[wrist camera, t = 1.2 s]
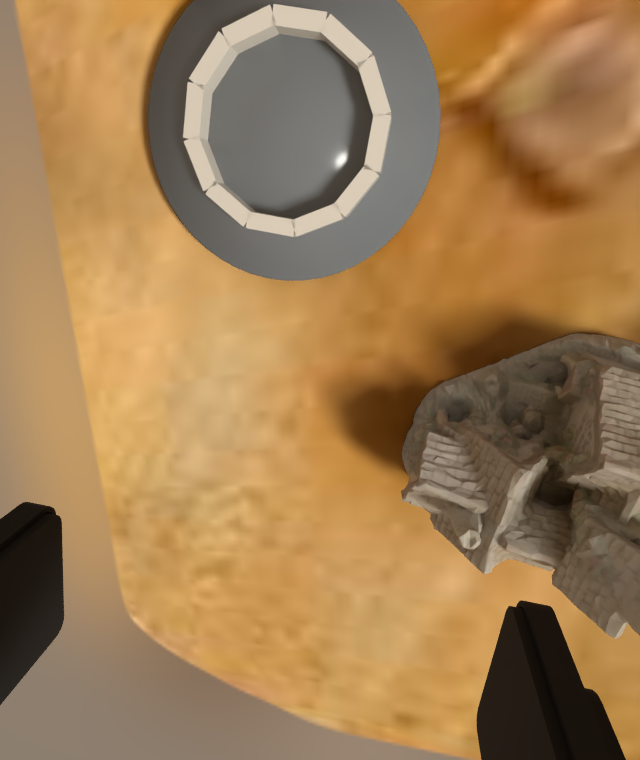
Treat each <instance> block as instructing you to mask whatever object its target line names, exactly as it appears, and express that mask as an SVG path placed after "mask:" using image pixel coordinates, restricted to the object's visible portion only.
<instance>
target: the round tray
mask: <svg viewBox="0 0 640 760" xmlns="http://www.w3.org/2000/svg"><path fill="white" fill-rule="evenodd" d="M148 129H149V139H150V148H151V152H152V157H153V161H154V166H155V169H156V172H157V175H158V178H159V181H160V184H161V187H162V189H163V191H164V193H165V195H166V197H167V199H168V201H169V203H170V205H171V207H172V208H173V210H174V211H175V213H176V215H177V216H178V218H179V219H180V221H181V222H182V223H183V224H184V226H185V227H186V228H187V229H188V231H189V232H190V233H191V234H192V235H193V236H194V237H195V238H196V239H197V240H198V241H199V242H200V243H201V244H202V245H203V246H204V247H205V248H207V249H208V250H209V251H211V252H212V253H213V254H215V255H216V256H217V257H219V258H220V259H222V260H223V261H225V262H227V263H229V264H230V265H232V266H234V267H236V268H238V269H241V270H243V271H246V272H248V273H251V274H254V275H258V276H262V277H265V278H270V279H278V280H309V279H316V278H322V277H326V276H329V275H333V274H336V273H339V272H341V271H344V270H346V269H348V268H351V267H353V266H355V265H357V264H359V263H360V262H362V261H363V260H365V259H367V258H368V257H370V256H372V255H373V254H374V253H375V252H377V251H378V250H379V249H380V248H382V247H383V246H384V245H385V244H387V243H388V241H389V240H390V239H391V238H392V237H393V236H394V235H395V234H396V233H397V232H398V231H399V230H400V229H401V228H402V226H403V225H404V224H405V222H406V221H407V220H408V218H409V217H410V216H411V214H412V213H413V211H414V209H415V207H416V206H417V204H418V202H419V201H420V199H421V197H422V195H423V193H424V190H425V188H426V186H427V183H428V181H429V179H430V176H431V172H432V169H433V165H434V162H435V158H436V154H437V148H438V142H439V135H440V101H439V90H438V85H437V80H436V75H435V71H434V67H433V64H432V61H431V58H430V55H429V53H428V50H427V47H426V45H425V43H424V41H423V39H422V37H421V35H420V33H419V31H418V29H417V27H416V26H415V24H414V23H413V21H412V20H411V18H410V17H409V15H408V14H407V13H406V11H405V10H404V8H403V7H402V6H401V5H400V4H399V3H398V2H397V1H396V0H193V2H192V3H191V4H190V5H189V6H188V7H187V8H186V9H185V11H184V12H183V13H182V15H181V16H180V18H179V19H178V21H177V22H176V24H175V25H174V26H173V28H172V30H171V32H170V34H169V36H168V38H167V40H166V42H165V44H164V46H163V48H162V51H161V53H160V56H159V59H158V62H157V64H156V67H155V72H154V76H153V80H152V84H151V90H150V98H149V107H148Z"/></svg>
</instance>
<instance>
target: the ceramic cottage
mask: <svg viewBox="0 0 640 760" xmlns="http://www.w3.org/2000/svg"><path fill="white" fill-rule="evenodd" d="M414 416H415V417H414V418H413V425H412V427H411V428H410V430H409V431H408V434H407V435H406V436H405V437H406V440H405V442H404V444H403V450H402V460H403V463H404V467H405V470H406V472H407V474H408V476H409V477H410V478H409V482H408V485H407V486H406V488H405V489H404V490H402V491H401V493H402V501H405V502H409V503H410V504H411V505H415V506H419V507H422V508H424V509H425V510H427V511H428V512H429V513H430V514H431V517H430V520H431V521H432V523H433V525H434V529H436V530H438V531H439V532H440V533H441V534H442V535H444V536H445V537H446V538H447V539H448V540H449V541H450V542H451V543H452V544H453V545H454V546H455V547H456V548H457V549H458V550H459V551H460V552H462V553H463V554H464V556H465V557H466V558H467V559H468V560H469V561H470V562H471V563H472V564H473V565H474V566H476V567H477V568H478V569H479V570H480V571H481V572H482V573H484V574H486V573H490V572H491V571H492V568H493V567H495V566H497V565H498V564H499V563H500V562H503V561H505V560H506V559H514V560H517V561H521V562H524V563H526V564H529V565H532V566H535V567H540V568H542V569H545V570H547V571H551V570H553V569H555V571H554V573H553V575H552V585H554V586H555V587H556V588H558V589H559V590H560V591H562V592H563V593H564V594H565V595H566V597H567V598H568V599H569V600H570V601H571V602H572V603H573V604H574V605H575V606H576V607H577V608H578V609H580V610H581V611H582V612H583V613H585V614H586V615H587V616H588V617H589V618H590V619H591V620H593V621H594V622H595V623H596V624H597V625H598V626H599V627H600V628H601V629H602V630H603V631H604V632H605V633H607V634H608V635H610V636H611V637H613V638H619V637H620V636H621V634H622V632H623V631H624V629H625V627H626V625H627V624H628V623H629V625H630V626H631V627H632V629H633V630H634V631H635V632H636V633H638V634H639V635H640V344H638V343H635V342H633V341H630V340H625V339H620V338H616V337H611V336H605V335H601V334H600V335H596V334H591V335H590V334H582V333H575V334H570V335H567V336H564V337H562V338H558V339H556V340H553V341H550V342H547V343H545V344H542V345H540V346H537V347H535V348H532V349H530V350H529V351H524V352H522V353H519V354H517V355H514V356H512V357H510V358H509V359H502V360H500V361H499V362H497V363H495V364H493V365H488V366H486V367H483V368H481V369H477V370H475V371H472V372H469V373H467V374H466V375H464V374H463V375H461V376H459V377H456V378H453V379H451V380H447V381H444V382H443V383H441V384H440V385H438V386H437V387H435V388H434V389H432V390H430V392H429V393H428V394H427V395H426V396H425V397H424V399H423V400H422V401H421V403H420V406H419V407H417V408H416V413H415V414H414Z"/></svg>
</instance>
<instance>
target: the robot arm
mask: <svg viewBox="0 0 640 760" xmlns="http://www.w3.org/2000/svg"><path fill="white" fill-rule="evenodd" d="M63 603H64V601H63V559H62V522H61V518H60V516H58V515H56V512H55V510H54V508H52V507H50V506H45V505H40V504H34V503H30V502H24V503H22V504H20V505H19V506H17V507H16V508H15V509H13V510H12V511H11V512H9V513H8V514H7V515H5V516H4V517H3V518H1V519H0V705H1V704H2V702H3V701H4V700H5V699H6V697H7V696H8V695H9V694H10V693H11V691H12V690H13V689H14V688H15V686H16V685H17V684H18V683H19V682H20V680H21V679H22V678H23V676H24V675H25V674H26V673H27V672H28V671H29V669H30V668H31V667H32V666H33V665H34V663H35V662H36V661H37V660H38V658H39V657H40V656H41V655H42V653H43V652H44V651H45V650H46V649H47V647H48V646H49V645H50V644H51V643H52V641H53V640H54V639H55V638H56V636H57V635H58V633H59V631H60V630H61V627H62V624H63V620H64V604H63ZM477 733H478V739H479V746H480V752H481V759H482V760H626V759H625V757H624V754H623V752H622V749H621V747H620V745H619V742H618V740H617V737H616V735H615V733H614V730H613V728H612V726H611V723H610V721H609V718H608V716H607V714H606V711H605V709H604V706H603V704H602V702H601V700H600V698H599V696H598V695H597V694H596V693H595V692H594V691H593V690H591V689H586V688H584V686H583V684H582V681H581V679H580V676H579V673H578V671H577V668H576V666H575V663H574V661H573V658H572V656H571V653H570V651H569V648H568V646H567V643H566V641H565V638H564V635H563V633H562V630H561V628H560V625H559V623H558V620H557V618H556V615H555V613H554V611H553V609H552V607H550V606H547V605H542V604H537V603H532V602H527V601H519V603H518V604H517V606H516V607H512V606H509V607H508V608H507V610H506V613H505V617H504V620H503V624H502V627H501V631H500V634H499V638H498V641H497V645H496V648H495V651H494V655H493V658H492V662H491V665H490V669H489V672H488V676H487V679H486V683H485V686H484V690H483V693H482V697H481V700H480V704H479V707H478V712H477Z"/></svg>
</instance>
